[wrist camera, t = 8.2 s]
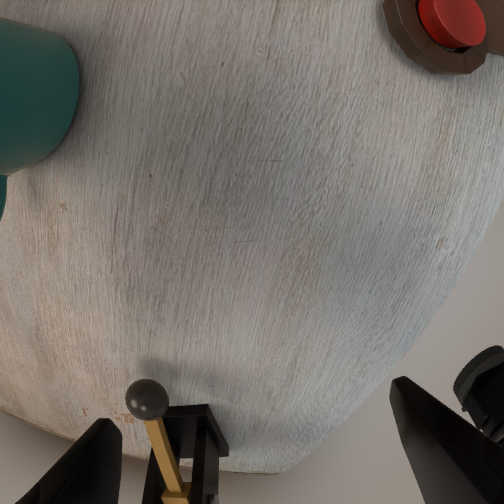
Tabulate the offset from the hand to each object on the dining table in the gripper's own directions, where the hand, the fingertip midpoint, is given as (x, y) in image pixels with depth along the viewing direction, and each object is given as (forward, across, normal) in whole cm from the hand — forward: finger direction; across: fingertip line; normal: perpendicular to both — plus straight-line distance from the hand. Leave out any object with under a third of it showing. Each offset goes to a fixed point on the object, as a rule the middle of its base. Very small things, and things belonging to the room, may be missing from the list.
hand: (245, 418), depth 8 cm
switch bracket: (+12, +9, +17) cm, 23 cm away
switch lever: (+7, +9, +13) cm, 18 cm away
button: (+9, -14, -12) cm, 20 cm away
